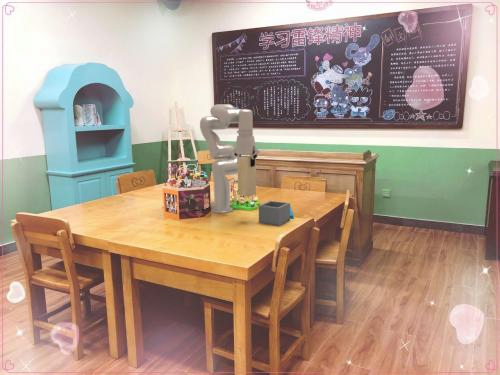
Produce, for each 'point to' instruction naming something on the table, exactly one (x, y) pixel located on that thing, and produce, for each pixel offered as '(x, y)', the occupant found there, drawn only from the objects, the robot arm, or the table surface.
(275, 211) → the box
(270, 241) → the table surface
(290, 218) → the lever
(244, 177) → the beige tall block
